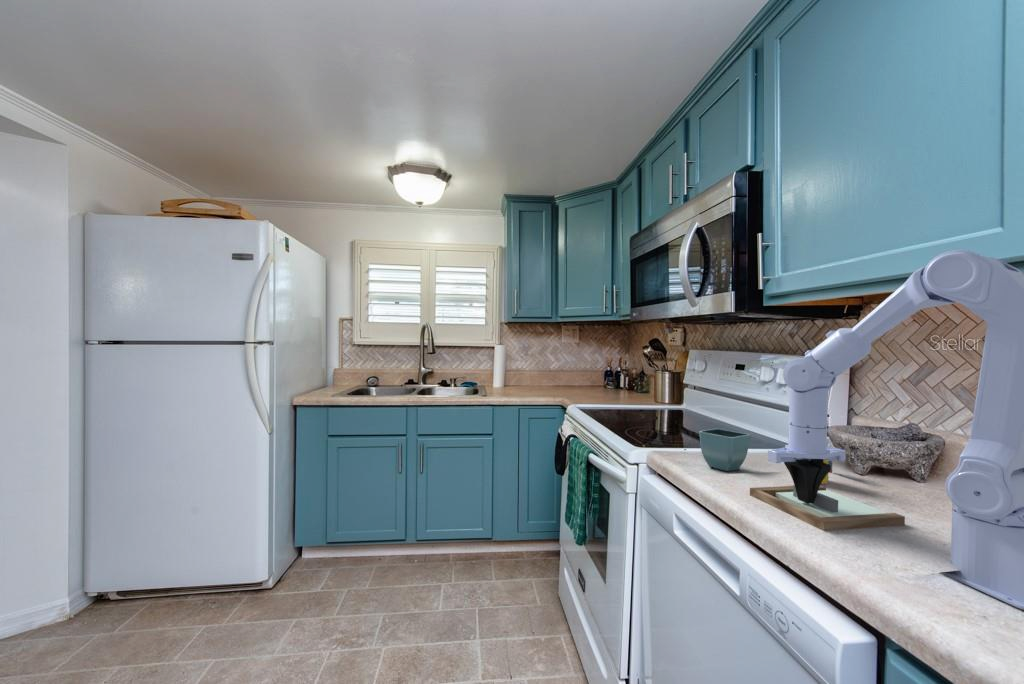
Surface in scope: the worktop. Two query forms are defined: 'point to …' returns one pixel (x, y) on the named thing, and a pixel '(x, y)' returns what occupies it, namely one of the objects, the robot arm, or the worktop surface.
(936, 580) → the worktop surface
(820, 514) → the cover plate
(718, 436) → the flower pot
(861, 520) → the wooden box
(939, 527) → the worktop surface
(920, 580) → the worktop surface
